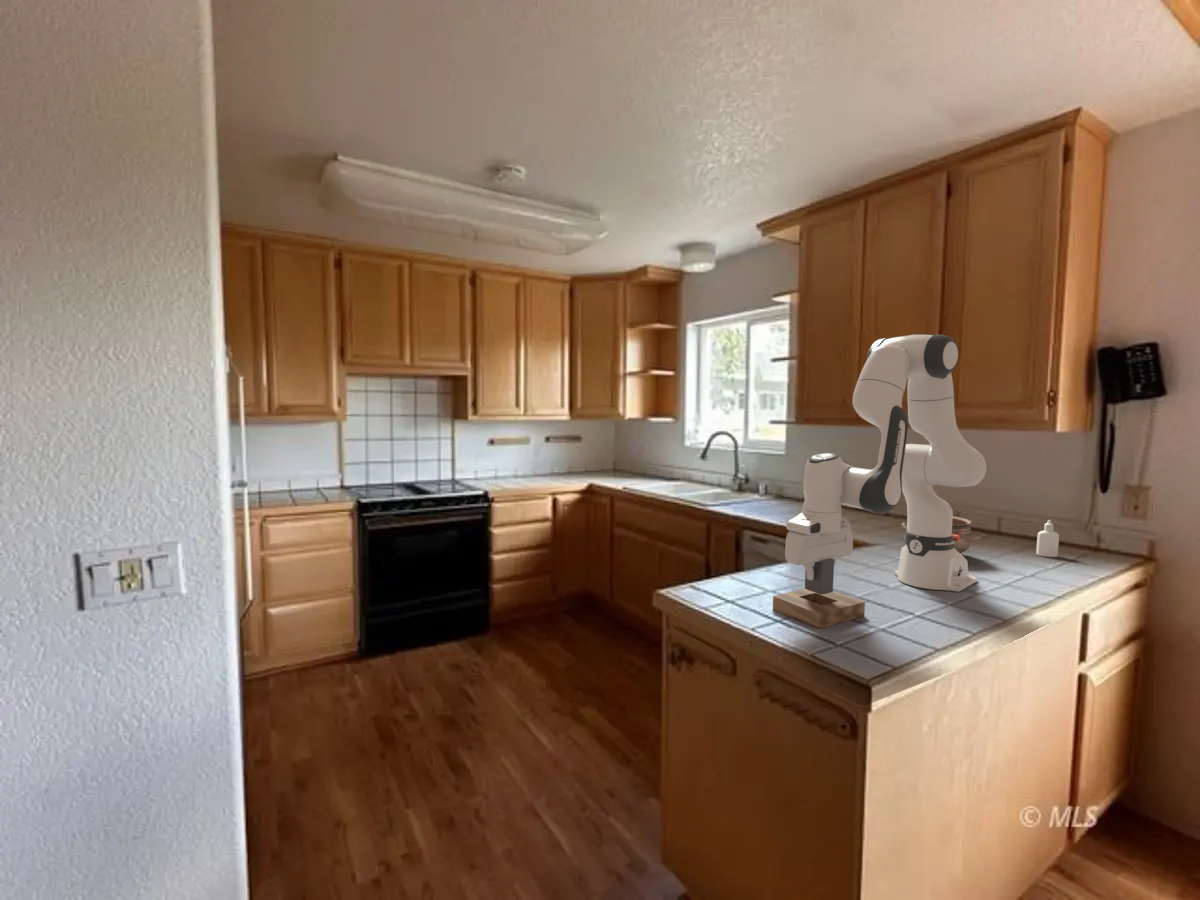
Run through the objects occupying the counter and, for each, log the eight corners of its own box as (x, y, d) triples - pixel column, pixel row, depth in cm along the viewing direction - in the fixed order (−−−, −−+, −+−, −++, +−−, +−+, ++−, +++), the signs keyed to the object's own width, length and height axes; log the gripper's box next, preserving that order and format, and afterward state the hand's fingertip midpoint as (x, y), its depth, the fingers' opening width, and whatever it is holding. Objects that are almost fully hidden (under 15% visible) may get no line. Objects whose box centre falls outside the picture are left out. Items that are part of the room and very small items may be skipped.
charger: (815, 586, 150) (817, 553, 149) (832, 592, 146) (834, 558, 145) (804, 588, 148) (806, 555, 147) (821, 594, 144) (822, 560, 143)
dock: (817, 598, 157) (817, 585, 157) (864, 616, 145) (864, 601, 145) (772, 609, 149) (773, 596, 149) (818, 628, 137) (819, 613, 137)
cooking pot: (993, 560, 195) (995, 522, 193) (963, 569, 184) (966, 530, 183) (916, 543, 215) (917, 510, 214) (886, 551, 205) (887, 516, 204)
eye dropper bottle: (1037, 553, 203) (1040, 517, 202) (1058, 556, 199) (1061, 520, 198) (1035, 555, 200) (1037, 519, 199) (1056, 558, 196) (1058, 522, 195)
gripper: (839, 515, 153) (836, 568, 154) (781, 523, 143) (779, 580, 144) (860, 519, 148) (858, 574, 149) (802, 528, 137) (800, 587, 139)
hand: (819, 577), depth 146 cm, fingers closed on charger, 4 cm apart
